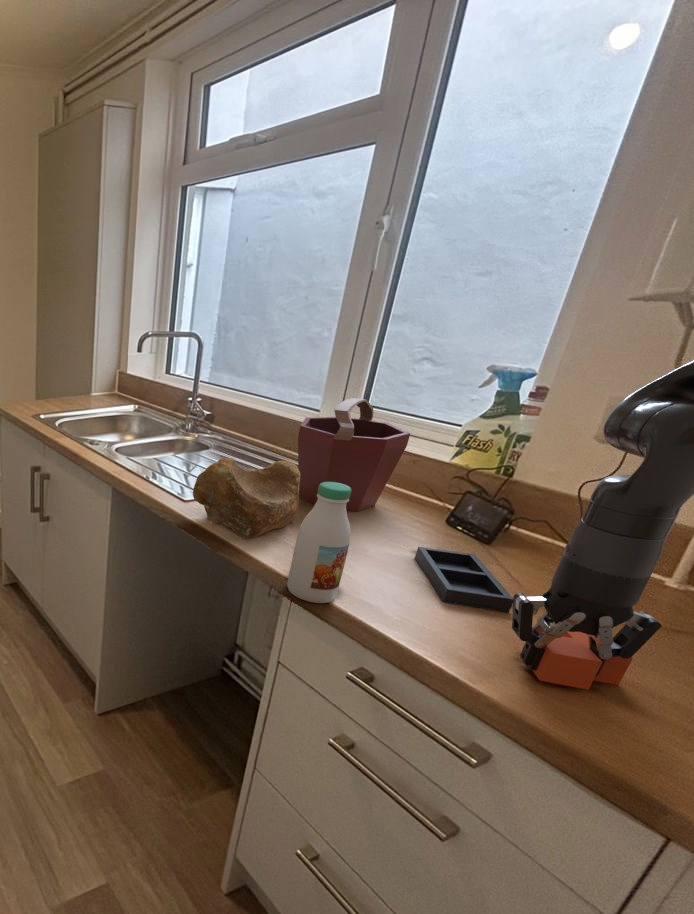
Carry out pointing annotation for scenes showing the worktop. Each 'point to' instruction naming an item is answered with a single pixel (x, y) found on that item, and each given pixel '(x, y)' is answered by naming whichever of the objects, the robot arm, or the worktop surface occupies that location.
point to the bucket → (349, 453)
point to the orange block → (606, 663)
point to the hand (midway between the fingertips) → (555, 670)
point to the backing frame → (463, 579)
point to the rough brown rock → (249, 496)
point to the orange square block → (568, 663)
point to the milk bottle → (321, 546)
